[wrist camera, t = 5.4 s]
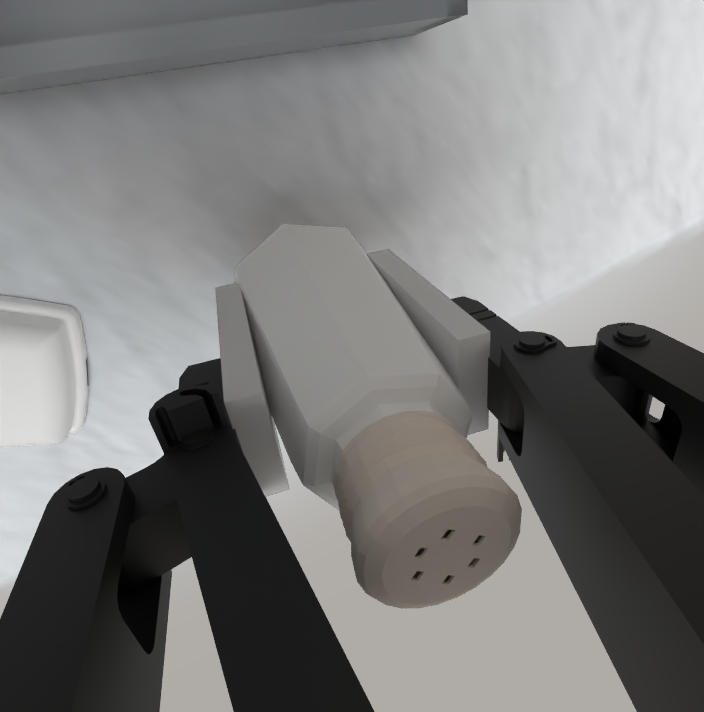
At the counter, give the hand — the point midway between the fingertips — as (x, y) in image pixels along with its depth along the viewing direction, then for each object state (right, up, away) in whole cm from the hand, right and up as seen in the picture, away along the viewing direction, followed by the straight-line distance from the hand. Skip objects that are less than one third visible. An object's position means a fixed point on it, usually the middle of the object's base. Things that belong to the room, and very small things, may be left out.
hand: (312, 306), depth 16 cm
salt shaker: (0, +1, +1) cm, 1 cm away
